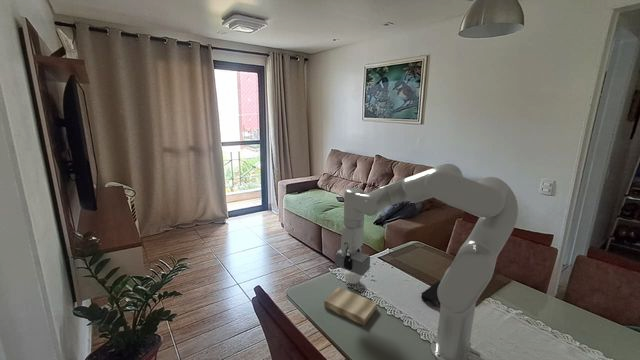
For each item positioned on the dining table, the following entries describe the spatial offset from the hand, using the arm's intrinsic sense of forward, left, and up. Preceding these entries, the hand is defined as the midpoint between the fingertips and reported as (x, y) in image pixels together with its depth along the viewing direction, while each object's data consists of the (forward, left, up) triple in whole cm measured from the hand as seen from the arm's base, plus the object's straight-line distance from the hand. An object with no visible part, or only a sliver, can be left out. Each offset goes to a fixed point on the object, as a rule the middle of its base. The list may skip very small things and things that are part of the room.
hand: (352, 264), depth 112 cm
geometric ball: (+8, -16, -20) cm, 27 cm away
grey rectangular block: (0, 0, -1) cm, 1 cm away
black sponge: (-27, -28, -20) cm, 44 cm away
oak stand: (0, 0, -20) cm, 20 cm away
